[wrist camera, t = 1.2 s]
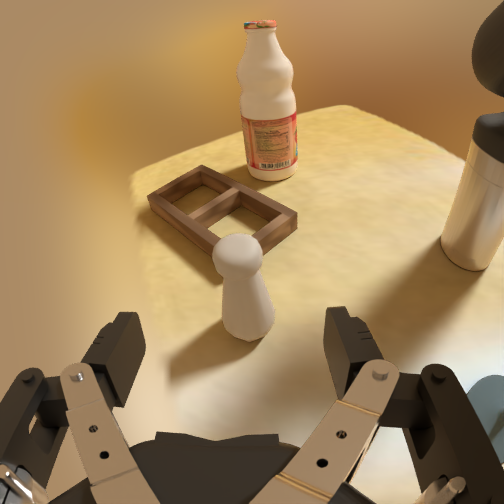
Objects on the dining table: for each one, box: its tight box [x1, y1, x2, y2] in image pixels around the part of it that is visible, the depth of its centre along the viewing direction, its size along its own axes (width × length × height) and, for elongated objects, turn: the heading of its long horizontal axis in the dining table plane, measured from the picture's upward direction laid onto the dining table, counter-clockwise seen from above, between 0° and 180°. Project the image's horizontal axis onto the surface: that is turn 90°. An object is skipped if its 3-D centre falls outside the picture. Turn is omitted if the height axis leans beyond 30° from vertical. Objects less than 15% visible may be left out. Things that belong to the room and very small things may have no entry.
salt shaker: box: [212, 233, 275, 342], centre depth 31 cm, size 6×6×13 cm
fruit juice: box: [237, 20, 298, 181], centre depth 49 cm, size 9×9×28 cm
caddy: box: [147, 165, 297, 257], centre depth 49 cm, size 12×22×3 cm, turn 44°
